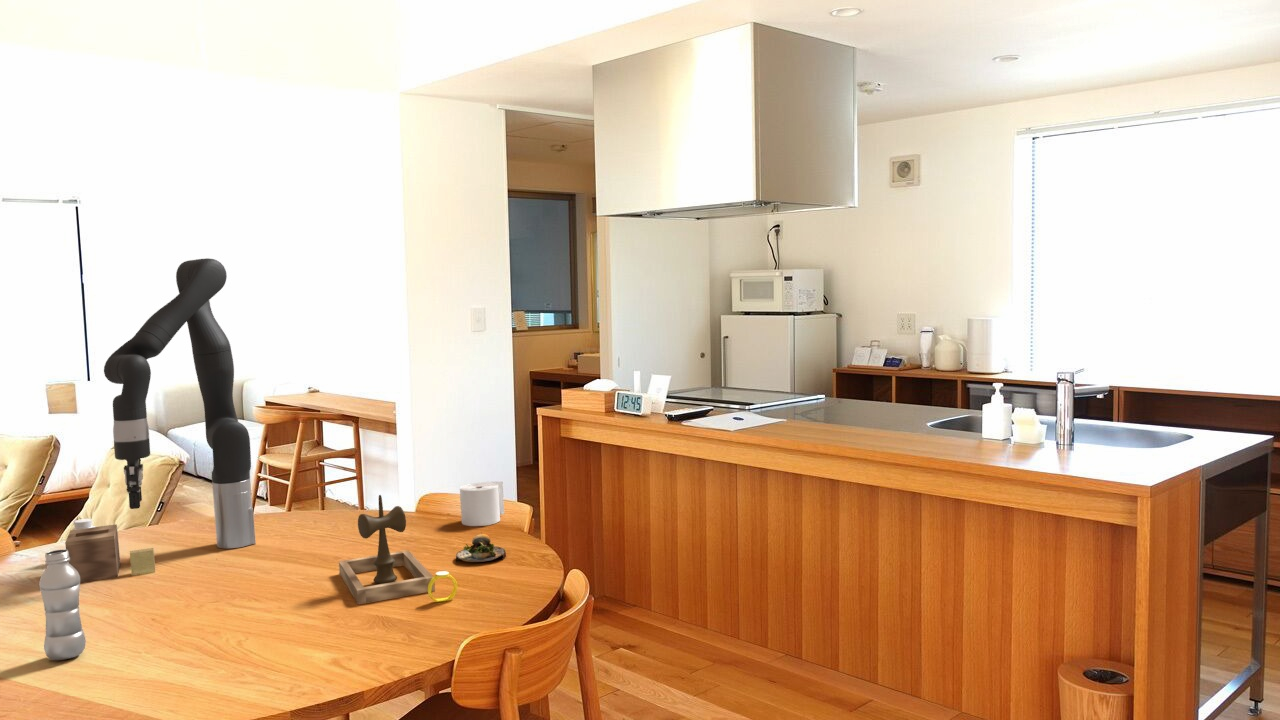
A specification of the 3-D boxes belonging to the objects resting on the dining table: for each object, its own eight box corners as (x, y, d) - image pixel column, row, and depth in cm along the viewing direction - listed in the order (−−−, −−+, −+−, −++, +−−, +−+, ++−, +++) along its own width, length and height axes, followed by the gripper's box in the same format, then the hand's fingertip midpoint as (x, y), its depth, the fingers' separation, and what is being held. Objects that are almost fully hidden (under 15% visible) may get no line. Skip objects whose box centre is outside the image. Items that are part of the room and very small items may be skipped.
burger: (446, 564, 229) (444, 534, 229) (473, 551, 240) (471, 521, 240) (490, 568, 225) (488, 537, 224) (515, 554, 236) (513, 524, 235)
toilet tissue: (456, 526, 264) (454, 490, 263) (470, 515, 276) (468, 481, 275) (493, 526, 262) (491, 490, 262) (506, 515, 274) (504, 481, 273)
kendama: (411, 580, 217) (405, 493, 216) (370, 590, 211) (364, 500, 210) (399, 574, 222) (394, 489, 220) (359, 584, 216) (353, 496, 214)
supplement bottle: (101, 559, 246) (97, 520, 245) (76, 564, 242) (72, 524, 241) (96, 555, 250) (93, 516, 249) (72, 559, 246) (68, 520, 246)
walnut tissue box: (120, 563, 241) (116, 524, 240) (117, 577, 229) (114, 535, 228) (74, 570, 237) (70, 530, 236) (69, 584, 225) (65, 542, 224)
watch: (431, 605, 200) (429, 577, 199) (427, 602, 202) (425, 574, 201) (459, 599, 203) (457, 571, 202) (454, 596, 205) (453, 568, 204)
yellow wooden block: (155, 569, 234) (153, 547, 234) (155, 572, 232) (153, 550, 232) (132, 573, 232) (130, 551, 232) (131, 576, 230) (129, 553, 230)
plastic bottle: (56, 652, 182) (46, 548, 180) (93, 649, 182) (84, 546, 180) (38, 665, 175) (27, 558, 174) (76, 663, 176) (66, 555, 174)
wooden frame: (409, 562, 231) (408, 550, 231) (434, 590, 209) (434, 577, 209) (339, 573, 224) (338, 561, 224) (358, 604, 202) (357, 590, 202)
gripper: (148, 440, 225) (152, 509, 226) (150, 433, 238) (154, 497, 239) (111, 443, 222) (116, 512, 223) (115, 435, 235) (120, 501, 236)
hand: (135, 505), depth 231 cm, fingers open, 8 cm apart
